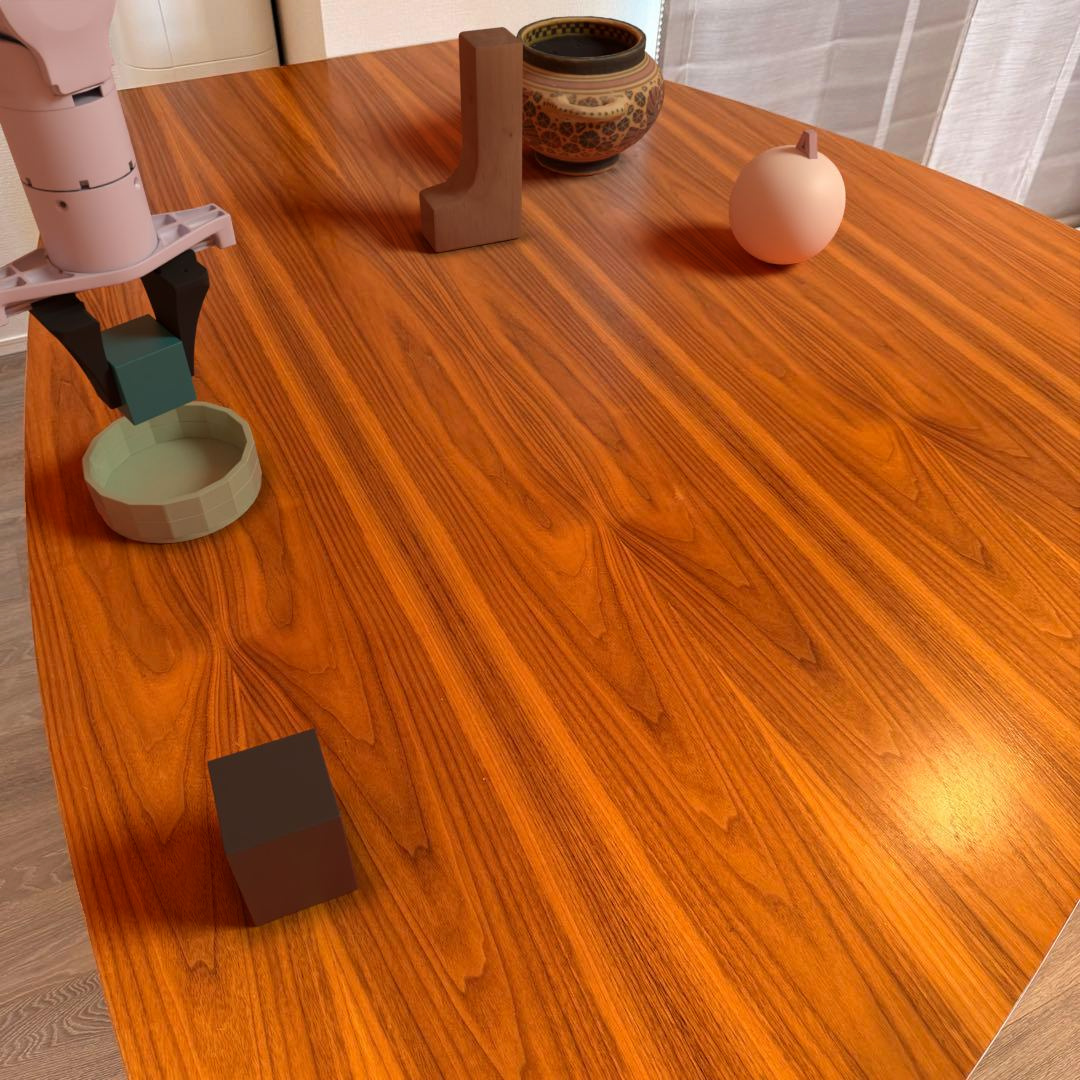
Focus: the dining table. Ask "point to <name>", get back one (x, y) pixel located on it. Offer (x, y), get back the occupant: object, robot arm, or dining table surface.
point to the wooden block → (482, 149)
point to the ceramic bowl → (586, 91)
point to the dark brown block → (282, 826)
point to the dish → (174, 473)
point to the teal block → (147, 368)
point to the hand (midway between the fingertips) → (147, 385)
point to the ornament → (787, 202)
